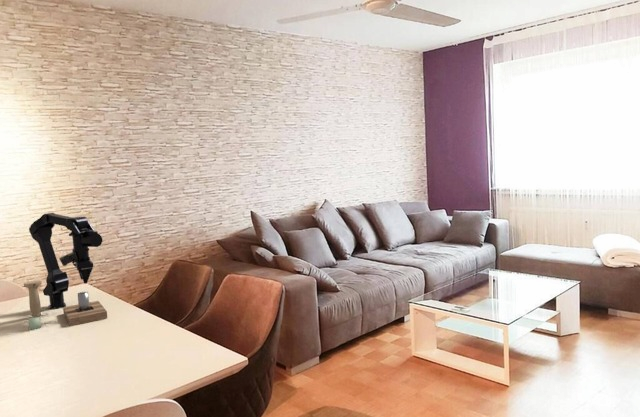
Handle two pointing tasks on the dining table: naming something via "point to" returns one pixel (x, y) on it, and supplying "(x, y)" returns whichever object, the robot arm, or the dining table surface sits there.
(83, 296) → the long pin
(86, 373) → the dining table surface
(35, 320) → the short pin
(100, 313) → the board
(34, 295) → the handle
